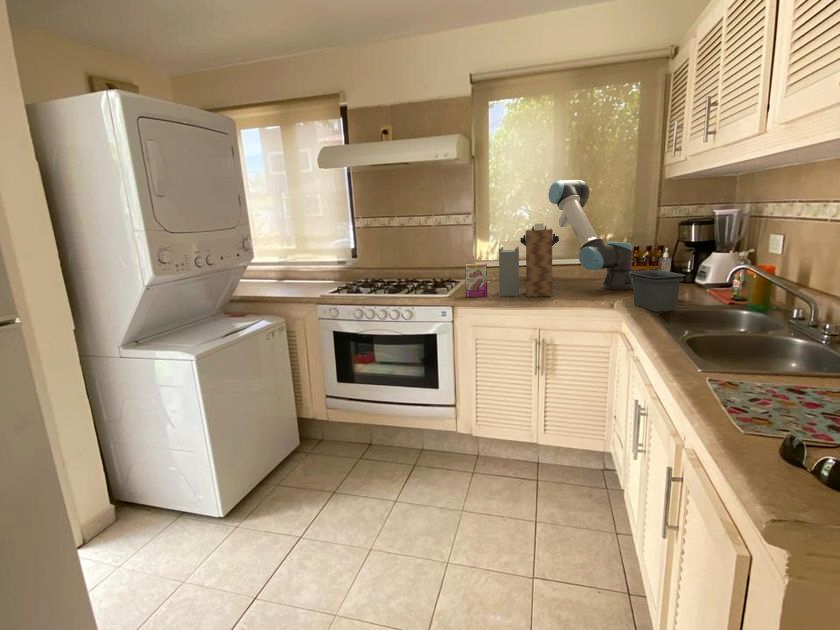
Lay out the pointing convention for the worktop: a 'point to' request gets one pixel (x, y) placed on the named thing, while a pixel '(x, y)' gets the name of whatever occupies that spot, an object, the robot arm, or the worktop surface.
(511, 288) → the rack
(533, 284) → the stand
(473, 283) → the candy bar box
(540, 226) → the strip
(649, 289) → the storage bin
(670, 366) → the worktop surface
